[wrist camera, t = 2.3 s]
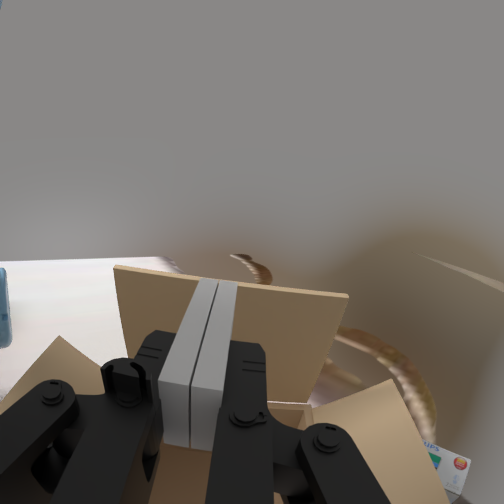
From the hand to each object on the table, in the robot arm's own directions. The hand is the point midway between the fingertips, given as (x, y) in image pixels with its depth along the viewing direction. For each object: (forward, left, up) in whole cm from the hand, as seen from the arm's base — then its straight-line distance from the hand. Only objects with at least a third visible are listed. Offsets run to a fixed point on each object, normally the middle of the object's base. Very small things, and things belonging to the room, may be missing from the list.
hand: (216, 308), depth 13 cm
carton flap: (-8, +11, -12) cm, 18 cm away
